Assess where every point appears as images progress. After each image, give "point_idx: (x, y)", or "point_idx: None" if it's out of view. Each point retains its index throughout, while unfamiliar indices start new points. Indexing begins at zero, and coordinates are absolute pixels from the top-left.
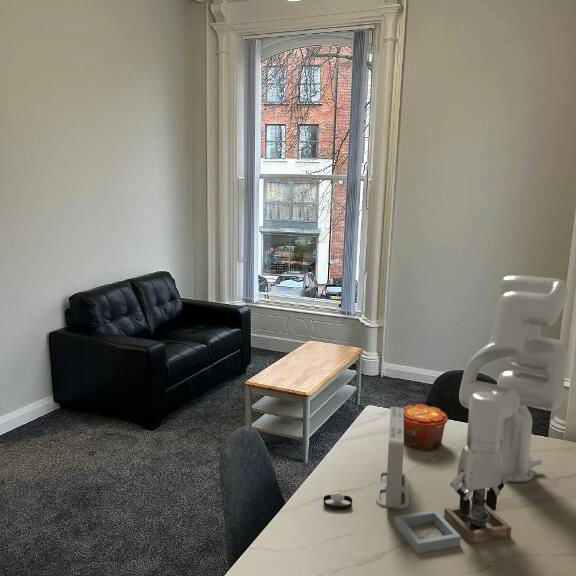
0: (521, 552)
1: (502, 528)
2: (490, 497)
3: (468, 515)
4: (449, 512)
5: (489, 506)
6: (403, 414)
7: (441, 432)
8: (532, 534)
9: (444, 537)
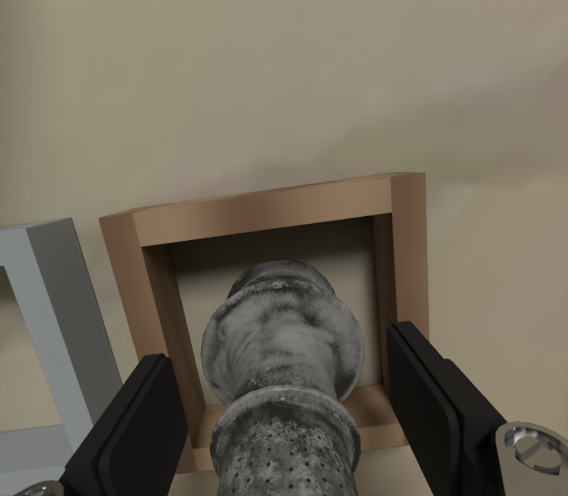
0: (386, 490)
1: (375, 447)
2: (428, 447)
3: (209, 374)
4: (119, 269)
5: (392, 371)
6: None
7: None
8: (524, 393)
9: (17, 483)
